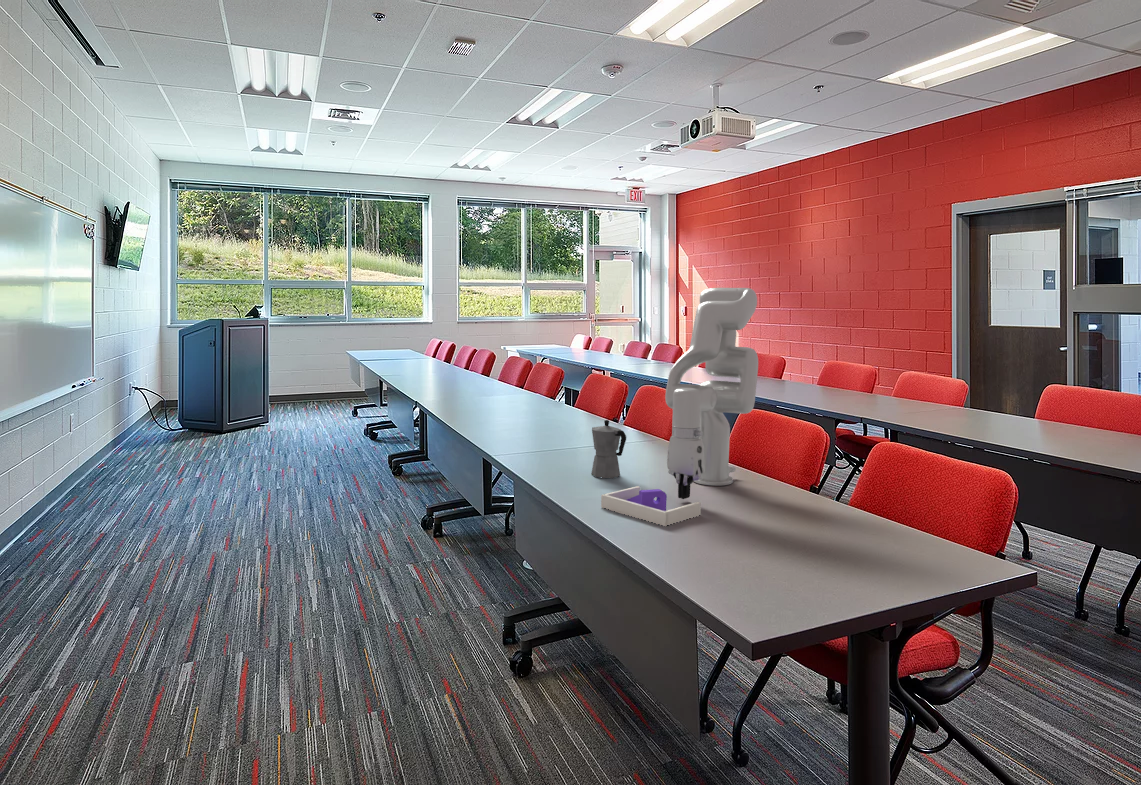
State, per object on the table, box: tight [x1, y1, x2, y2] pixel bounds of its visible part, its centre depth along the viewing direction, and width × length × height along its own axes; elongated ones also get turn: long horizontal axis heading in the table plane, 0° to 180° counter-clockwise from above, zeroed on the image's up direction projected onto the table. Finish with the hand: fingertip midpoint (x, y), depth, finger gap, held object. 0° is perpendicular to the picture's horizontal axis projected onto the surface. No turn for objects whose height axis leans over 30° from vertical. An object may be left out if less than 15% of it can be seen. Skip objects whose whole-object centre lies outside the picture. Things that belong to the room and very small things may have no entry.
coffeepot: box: [591, 419, 627, 479], centre depth 224 cm, size 15×9×18 cm, turn 39°
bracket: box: [626, 488, 668, 511], centre depth 187 cm, size 12×7×7 cm, turn 17°
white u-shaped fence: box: [600, 485, 702, 527], centre depth 186 cm, size 14×22×4 cm, turn 43°
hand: (683, 497), depth 196 cm, fingers closed
